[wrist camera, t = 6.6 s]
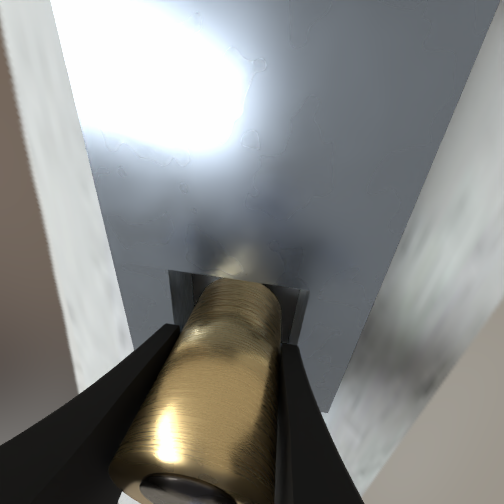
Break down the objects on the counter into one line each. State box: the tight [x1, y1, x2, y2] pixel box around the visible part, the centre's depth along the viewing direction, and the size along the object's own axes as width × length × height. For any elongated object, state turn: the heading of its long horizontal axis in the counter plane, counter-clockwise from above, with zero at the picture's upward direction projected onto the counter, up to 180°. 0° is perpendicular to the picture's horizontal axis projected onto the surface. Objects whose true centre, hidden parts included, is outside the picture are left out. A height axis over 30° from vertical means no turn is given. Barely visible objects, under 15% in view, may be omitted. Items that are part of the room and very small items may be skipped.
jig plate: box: [51, 0, 500, 413], centre depth 8 cm, size 20×11×5 cm, turn 176°
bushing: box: [108, 278, 282, 504], centre depth 9 cm, size 4×4×7 cm
